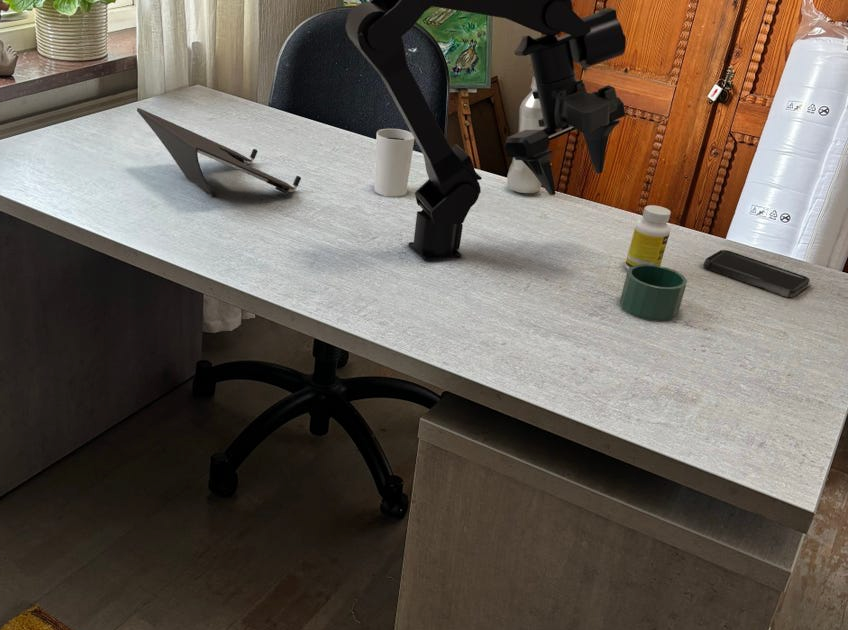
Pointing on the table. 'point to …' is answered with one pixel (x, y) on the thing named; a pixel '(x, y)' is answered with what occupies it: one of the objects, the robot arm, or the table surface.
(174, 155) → the laptop stand
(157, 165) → the table surface
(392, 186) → the white cup
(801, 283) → the phone
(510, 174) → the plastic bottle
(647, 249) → the supplement bottle
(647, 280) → the crock
